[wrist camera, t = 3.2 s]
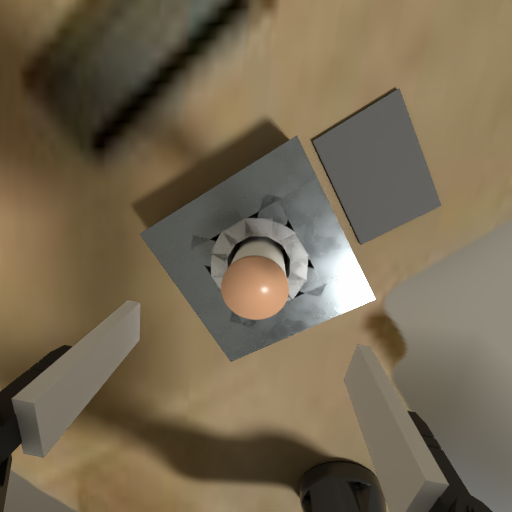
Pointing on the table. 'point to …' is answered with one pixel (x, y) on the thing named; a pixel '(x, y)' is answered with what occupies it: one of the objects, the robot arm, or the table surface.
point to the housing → (275, 227)
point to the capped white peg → (256, 279)
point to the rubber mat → (378, 168)
